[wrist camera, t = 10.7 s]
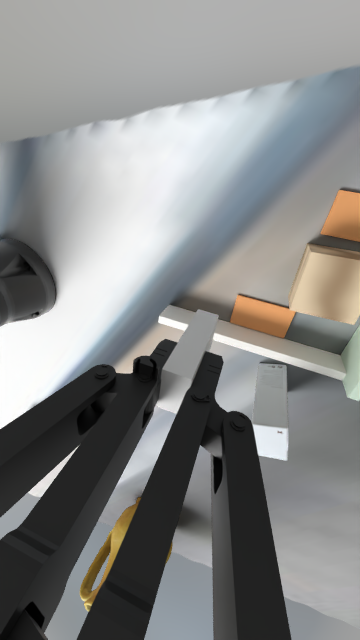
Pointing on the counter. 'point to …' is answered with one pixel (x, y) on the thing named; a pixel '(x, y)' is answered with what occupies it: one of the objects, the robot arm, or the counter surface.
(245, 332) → the track
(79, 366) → the counter surface
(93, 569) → the pitcher
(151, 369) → the robot arm
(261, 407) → the skincare box
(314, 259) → the oak block
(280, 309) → the trap pits
